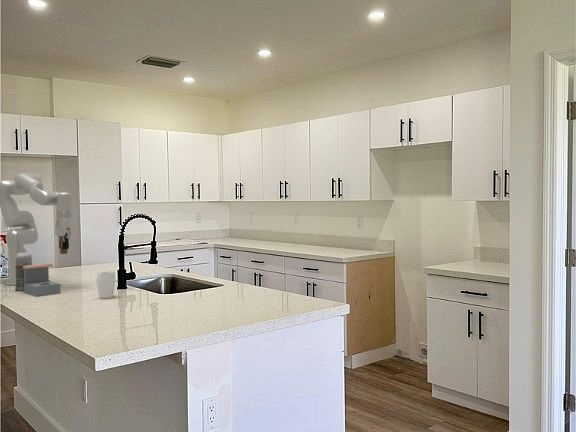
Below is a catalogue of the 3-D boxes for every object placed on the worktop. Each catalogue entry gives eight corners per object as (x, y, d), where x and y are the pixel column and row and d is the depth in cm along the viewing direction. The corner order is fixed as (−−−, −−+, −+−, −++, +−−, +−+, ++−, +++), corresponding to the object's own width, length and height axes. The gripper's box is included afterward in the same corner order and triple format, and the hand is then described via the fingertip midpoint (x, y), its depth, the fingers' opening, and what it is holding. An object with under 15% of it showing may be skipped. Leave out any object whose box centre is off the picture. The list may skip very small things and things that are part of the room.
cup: (92, 298, 253) (92, 273, 253) (106, 294, 261) (106, 271, 261) (105, 299, 249) (105, 275, 249) (119, 296, 257) (119, 272, 257)
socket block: (23, 292, 268) (22, 266, 267) (48, 289, 277) (48, 263, 277) (35, 296, 257) (34, 268, 256) (61, 293, 266) (60, 266, 266)
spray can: (36, 288, 280) (35, 252, 279) (27, 291, 272) (26, 253, 271) (21, 288, 281) (20, 251, 280) (12, 291, 273) (11, 253, 272)
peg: (59, 253, 280) (59, 231, 279) (65, 252, 283) (65, 231, 282) (62, 254, 278) (62, 232, 277) (68, 253, 280) (68, 231, 280)
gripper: (50, 214, 282) (50, 247, 283) (63, 216, 271) (63, 250, 272) (64, 214, 287) (64, 246, 288) (77, 215, 276) (77, 249, 277)
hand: (63, 248), depth 280 cm, fingers closed on peg, 3 cm apart
